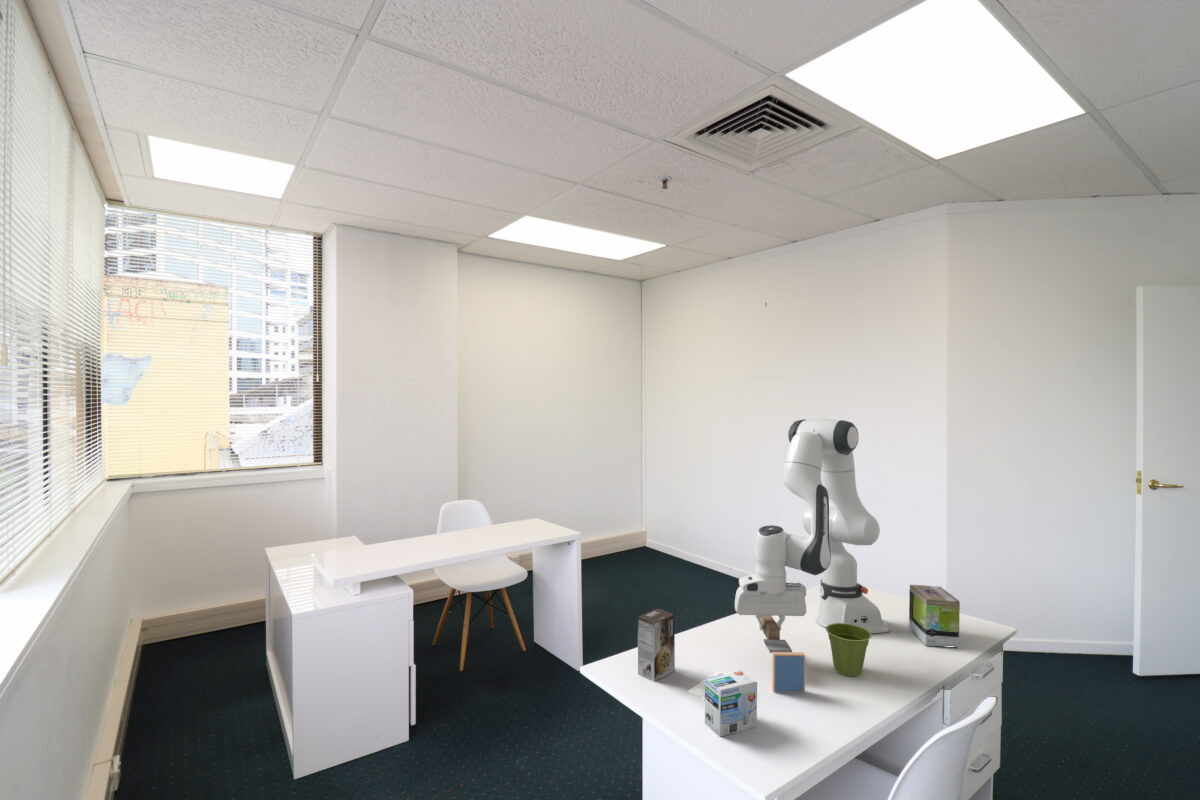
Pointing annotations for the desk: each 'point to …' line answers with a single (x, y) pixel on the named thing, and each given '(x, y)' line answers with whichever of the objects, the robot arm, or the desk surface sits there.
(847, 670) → the plant pot
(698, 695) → the butcher knife
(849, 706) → the desk surface
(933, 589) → the tea box
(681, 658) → the desk surface
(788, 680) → the tile
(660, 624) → the coffee box
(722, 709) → the light bulb box
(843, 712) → the desk surface
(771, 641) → the wooden handled scraper
